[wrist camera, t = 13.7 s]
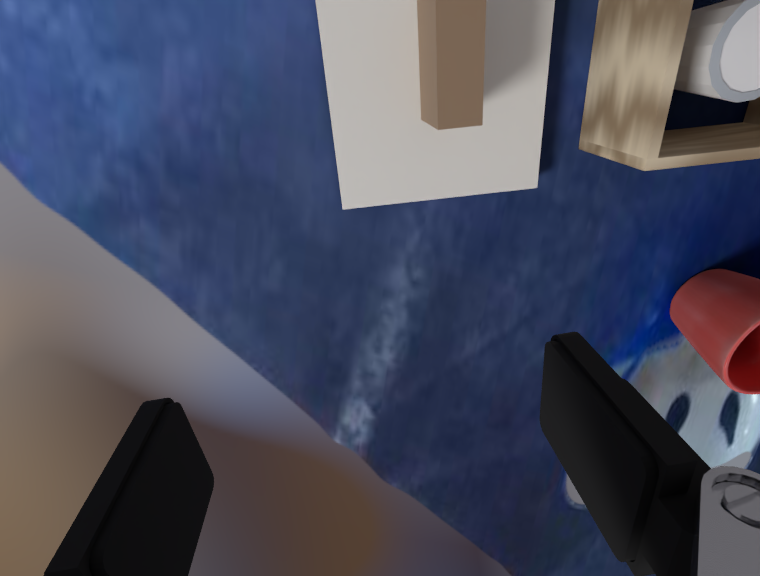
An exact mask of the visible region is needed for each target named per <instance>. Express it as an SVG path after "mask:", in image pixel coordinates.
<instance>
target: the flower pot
mask: <svg viewBox="0 0 760 576" xmlns="http://www.w3.org/2000/svg"><path fill="white" fill-rule="evenodd" d="M670 316H671V319H672V321H673V322H674V324H675V325H676V326H677V327H678V329H679V330H680V331H681V332H682V334H683V335H684V336H685V337H686V339H687V340H688V341H689V342H690V344H691V345H692V346H693V347H694V348H695V350H696V351H697V352H698V353H699V354H700V355H701V357H702V358H703V359H704V360H705V361H706V362H707V364H708V365H709V366H710V367H711V368H712V369H713V371H714V372H715V373H716V374H717V375H718V376H719V377H720V378H721V380H722V381H723V382H724V383H725V384H726V385H727V386H728V387H730V388H731V389H733V390H734V391H737V392H740V393H744V394H760V279H758V278H754V277H751V276H747V275H744V274H741V273H737V272H733V271H729V270H725V269H712V270H707V271H704V272H702V273H699V274H697V275H696V276H694V277H692V278H691V279H689V280H688V281H687V282H686V283H684V284H683V285H682V286H681V287H680V289H679V290H678V291H677V292H676V294H675V295H674V297H673V299H672V302H671V307H670Z"/></svg>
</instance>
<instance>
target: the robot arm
mask: <svg viewBox="0 0 760 576" xmlns="http://www.w3.org/2000/svg"><path fill="white" fill-rule="evenodd" d="M540 424H541V428H542V431H543V433H544V435H545V436H546V438H547V440H548V441H549V443H550V445H551V447H552V448H553V450H554V452H555V453H556V455H557V457H558V459H559V460H560V462H561V464H562V466H563V467H564V469H565V471H566V472H567V474H568V476H569V478H570V479H571V481H572V483H573V485H574V486H575V488H576V490H577V491H578V493H579V495H580V497H581V498H582V500H583V502H584V503H585V505H586V507H587V509H588V510H589V512H590V514H591V516H592V517H593V519H594V521H595V522H596V524H597V526H598V528H599V529H600V531H601V533H602V535H603V536H604V538H605V540H606V541H607V543H608V545H609V547H610V548H611V550H612V552H613V553H614V555H615V556H616V558H617V559H618V560H619V561H621V562H625V561H626V562H627V564H628V566H629V568H630V569H631V571H632V573H633V574H634V576H645V575H651V574H656V576H760V474H757V473H755V472H753V471H750V470H747V469H742V468H738V467H727V466H725V467H724V466H720V467H717V468H713V469H711V468H710V467H709V466H708V465H707V464H706V463H705V462H704V461H703V460H702V459H701V458H700V457H699V456H698V454H697V453H696V452H695V451H694V450H693V449H692V448H691V447H690V446H689V445H688V444H687V443H686V442H685V441H684V440H683V439H682V438H681V437H680V436H679V434H678V433H677V432H676V431H675V430H674V429H673V428H672V427H671V426H670V425H669V424H668V423H667V422H666V421H665V420H664V419H663V418H662V417H661V416H660V414H659V413H658V412H657V411H656V410H655V409H654V408H653V407H652V406H651V405H650V404H649V403H648V402H647V401H646V400H645V399H644V398H643V397H642V395H641V394H640V393H639V392H638V391H637V390H636V389H635V388H634V387H633V386H632V385H631V384H630V383H629V382H628V381H626V380H625V379H622V378H621V377H620V376H619V375H618V374H617V373H616V372H615V371H614V370H613V369H612V368H611V367H610V366H609V365H608V364H607V363H606V361H605V360H604V359H603V358H602V357H601V356H600V355H599V354H598V353H597V352H596V351H595V350H594V349H593V348H592V347H591V345H590V344H589V343H588V342H587V341H586V340H585V339H584V338H583V337H582V336H581V335H580V334H579V333H578V332H570V333H564V334H558V335H554V336H552V338H551V341H550V342H547V343H546V344H545V353H544V366H543V380H542V393H541V407H540ZM213 487H214V477H213V473H212V471H211V469H210V466H209V464H208V462H207V460H206V458H205V456H204V454H203V451H202V449H201V447H200V445H199V443H198V441H197V438H196V436H195V434H194V432H193V430H192V428H191V426H190V423H189V421H188V419H187V417H186V415H185V412H184V410H183V408H182V406H181V404H180V403H178V402H176V403H174V401H173V400H172V399H171V398H163V399H157V400H151V401H146V402H144V403H143V404H142V405H141V406H140V408H139V410H138V411H137V413H136V415H135V417H134V418H133V420H132V422H131V424H130V425H129V427H128V429H127V431H126V432H125V434H124V436H123V437H122V439H121V441H120V443H119V444H118V446H117V448H116V449H115V451H114V453H113V455H112V457H111V458H110V460H109V462H108V463H107V465H106V467H105V468H104V470H103V472H102V474H101V475H100V477H99V479H98V481H97V482H96V484H95V486H94V488H93V489H92V491H91V493H90V494H89V496H88V498H87V500H86V501H85V503H84V505H83V506H82V508H81V510H80V512H79V513H78V515H77V517H76V519H75V521H74V522H73V524H72V526H71V527H70V529H69V531H68V532H67V534H66V536H65V538H64V539H63V541H62V543H61V545H60V546H59V548H58V550H57V551H56V553H55V555H54V557H53V558H52V560H51V562H50V564H49V565H48V567H47V569H46V571H45V572H44V576H188V574H189V570H190V567H191V563H192V560H193V556H194V553H195V549H196V546H197V543H198V539H199V536H200V532H201V529H202V525H203V522H204V518H205V515H206V512H207V508H208V504H209V501H210V498H211V494H212V491H213Z"/></svg>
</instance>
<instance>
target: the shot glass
mask: <svg viewBox="0 0 760 576" xmlns="http://www.w3.org/2000/svg"><path fill="white" fill-rule="evenodd" d="M674 89H675V90H680V91H685V92H689V93H694V94H698V95H703V96H708V97H712V98H717V99H722V100H726V101H731V102H736V103H738V102H743V101H749V100H755V99H756V98H758V97H760V0H726V1H723V2H719V3H716V4H713V5H709V6H706V7H702V8H699V9H695V10H692V11H691V14H690V19H689V23H688V28H687V32H686V37H685V41H684V45H683V50H682V54H681V59H680V63H679V67H678V72H677V76H676V81H675V85H674Z"/></svg>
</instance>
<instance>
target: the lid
mask: <svg viewBox="0 0 760 576" xmlns="http://www.w3.org/2000/svg"><path fill="white" fill-rule="evenodd" d="M554 6H555V0H316V8H317V16H318V23H319V31H320V39H321V46H322V54H323V62H324V69H325V77H326V85H327V92H328V100H329V108H330V116H331V123H332V131H333V139H334V146H335V154H336V162H337V169H338V177H339V185H340V192H341V200H342V208H343V209H352V208H361V207H370V206H379V205H388V204H397V203H406V202H415V201H424V200H432V199H441V198H450V197H459V196H468V195H477V194H486V193H495V192H504V191H513V190H522V189H531V188H537V184H538V174H539V163H540V153H541V142H542V132H543V121H544V111H545V100H546V90H547V79H548V69H549V58H550V48H551V37H552V27H553V16H554Z"/></svg>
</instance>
